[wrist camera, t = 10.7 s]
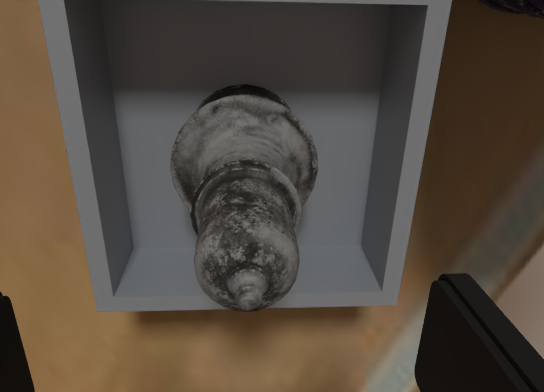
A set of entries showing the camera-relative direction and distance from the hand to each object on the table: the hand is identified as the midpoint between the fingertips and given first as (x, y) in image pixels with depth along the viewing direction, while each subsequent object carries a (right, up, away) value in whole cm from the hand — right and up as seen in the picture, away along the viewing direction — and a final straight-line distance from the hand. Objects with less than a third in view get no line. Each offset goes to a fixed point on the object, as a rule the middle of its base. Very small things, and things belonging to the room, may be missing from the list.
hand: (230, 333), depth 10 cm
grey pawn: (0, +6, +11) cm, 12 cm away
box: (0, +6, +12) cm, 13 cm away
